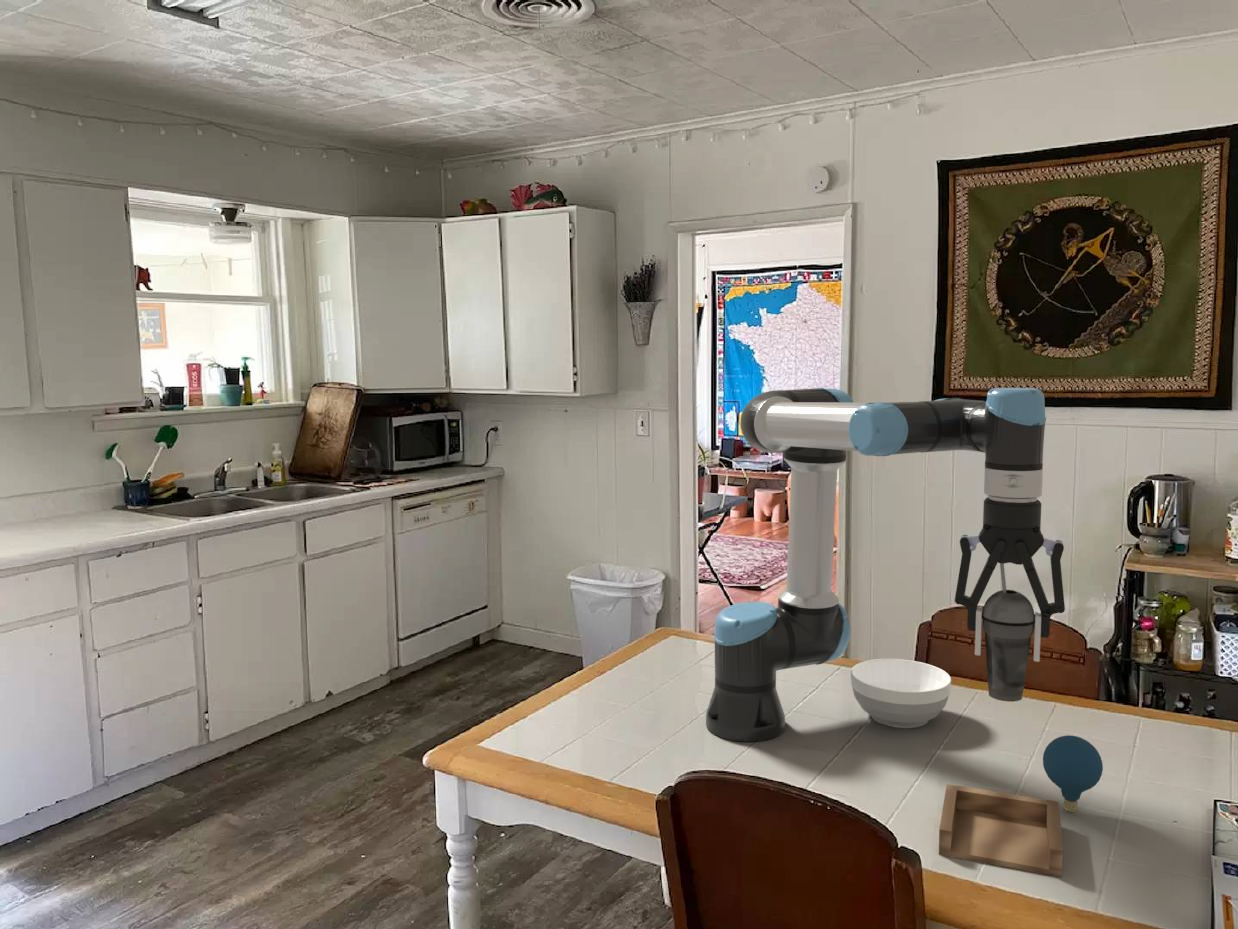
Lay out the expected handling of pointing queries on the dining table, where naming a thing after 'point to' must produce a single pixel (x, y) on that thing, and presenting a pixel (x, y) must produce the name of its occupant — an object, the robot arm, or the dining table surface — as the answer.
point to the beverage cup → (1007, 641)
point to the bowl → (900, 691)
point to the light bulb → (1072, 767)
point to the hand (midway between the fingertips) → (1006, 655)
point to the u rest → (1001, 830)
